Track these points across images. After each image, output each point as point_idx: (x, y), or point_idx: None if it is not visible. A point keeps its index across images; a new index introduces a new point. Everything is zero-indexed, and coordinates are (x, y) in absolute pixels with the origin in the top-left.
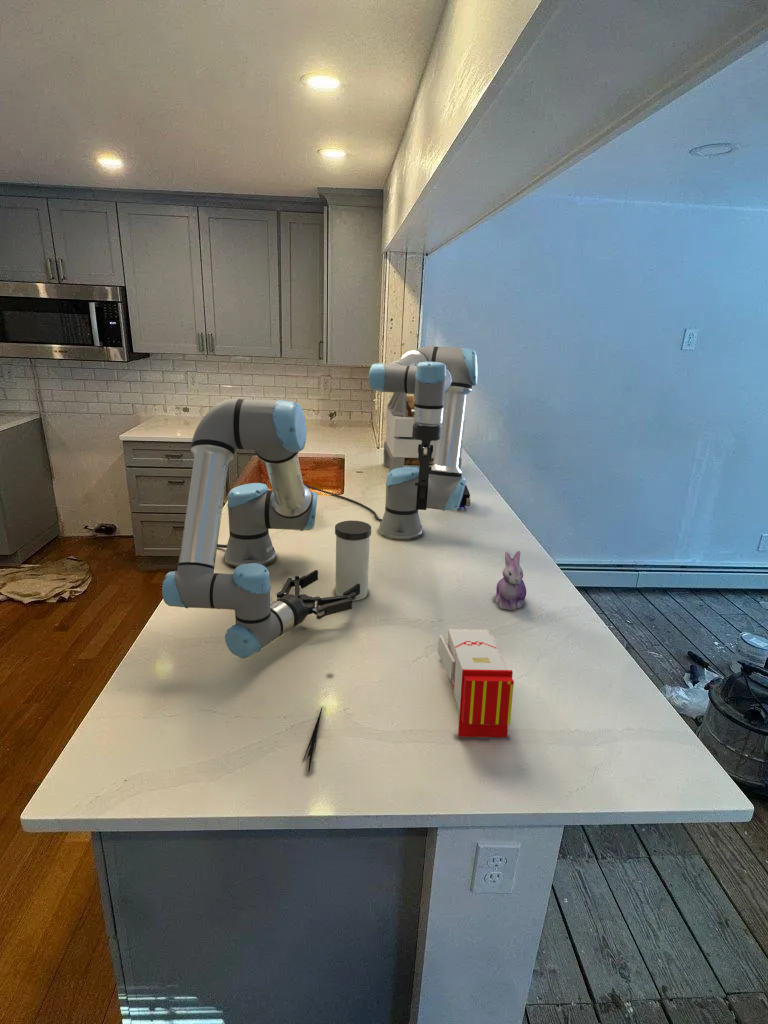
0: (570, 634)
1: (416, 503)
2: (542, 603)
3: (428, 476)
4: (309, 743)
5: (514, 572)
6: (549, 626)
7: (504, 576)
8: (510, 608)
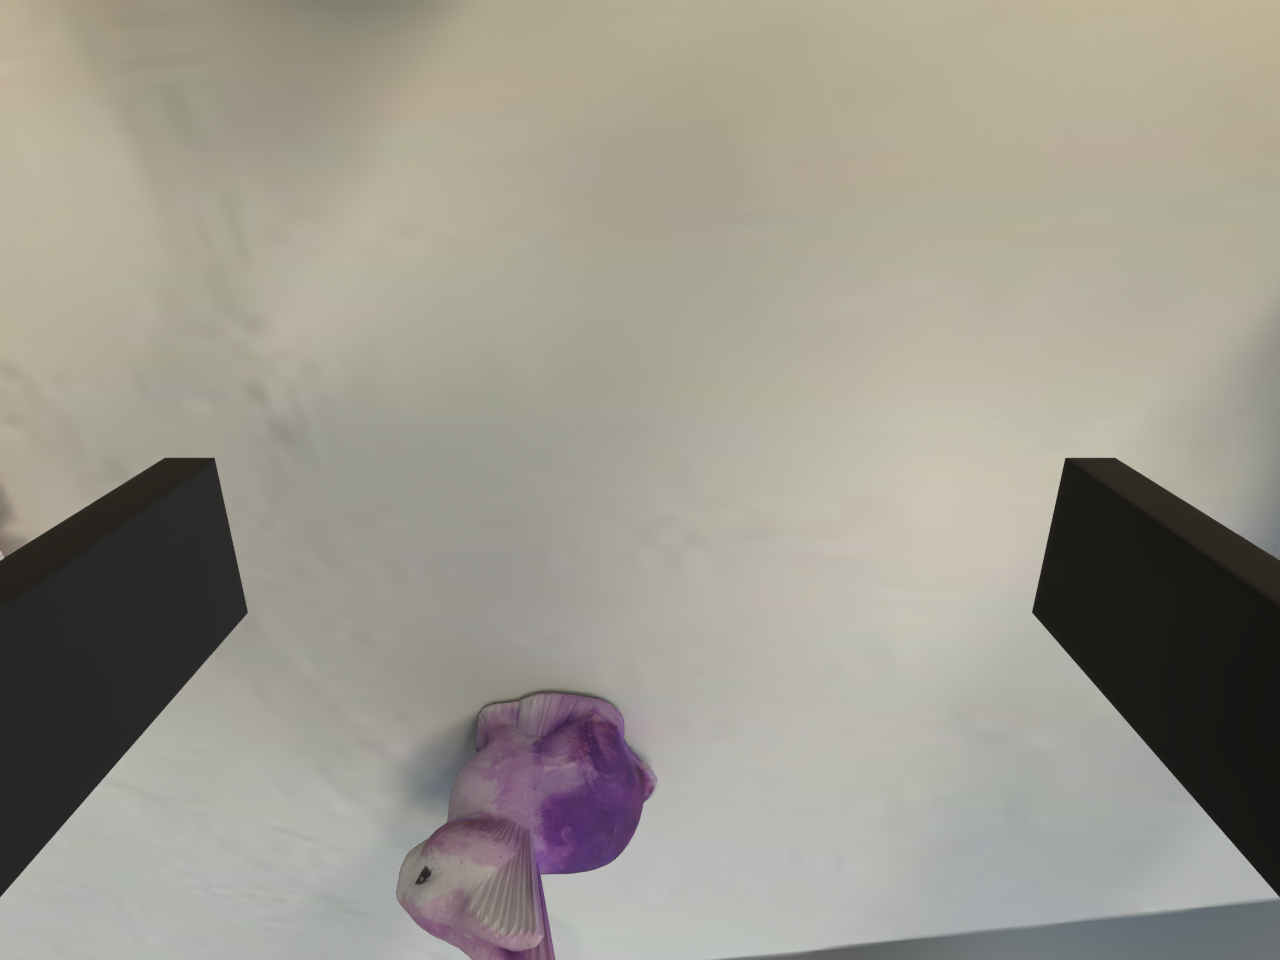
0: (347, 907)
1: (92, 504)
2: None
3: (1271, 884)
4: None
5: (412, 907)
6: (385, 854)
7: (439, 836)
8: (476, 745)
